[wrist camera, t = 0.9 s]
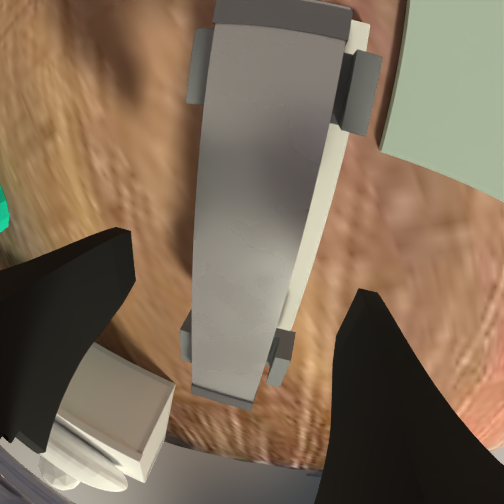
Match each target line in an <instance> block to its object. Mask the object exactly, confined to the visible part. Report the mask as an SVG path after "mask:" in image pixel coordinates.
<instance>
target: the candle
mask: <svg viewBox="0 0 504 504" xmlns="http://www.w3.org/2000/svg"><path fill="white" fill-rule="evenodd" d="M8 222H9V212H8V207H7V201H6V198H5V195H4V193H3V190H2V188H1V185H0V232H1V231H3V230H4V229H5V228H7V227H8Z"/></svg>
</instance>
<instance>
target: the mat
mask: <svg viewBox="0 0 504 504" xmlns="http://www.w3.org/2000/svg"><path fill="white" fill-rule="evenodd" d="M379 150H380V151H381V152H382V153H385V154H389V155H392V156H395V157H397V158H400V159H403V160H406V161H409V162H412V163H414V164H417V165H420V166H423V167H425V168H428V169H430V170H433V171H436V172H438V173H441V174H443V175H445V176H448V177H450V178H453V179H455V180H457V181H460V182H462V183H464V184H466V185H469V186H471V187H473V188H475V189H477V190H479V191H482V192H484V193H486V194H488V195H490V196H492V197H494V198H496V199H498V200H500V201H502V202H504V0H407V6H406V14H405V22H404V30H403V36H402V43H401V49H400V55H399V61H398V66H397V71H396V77H395V82H394V87H393V91H392V96H391V101H390V105H389V109H388V114H387V118H386V122H385V126H384V130H383V134H382V138H381V142H380V146H379Z"/></svg>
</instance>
